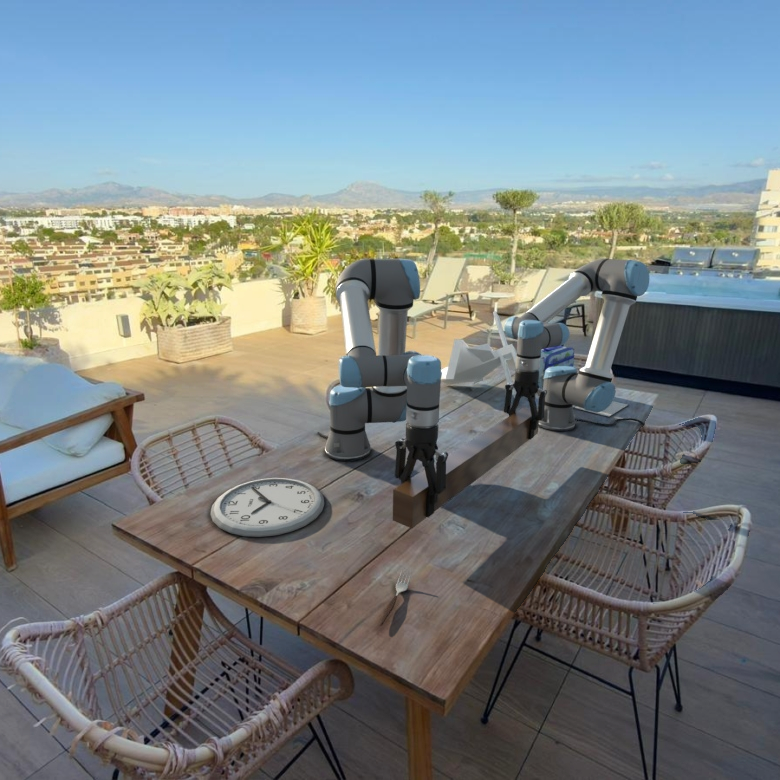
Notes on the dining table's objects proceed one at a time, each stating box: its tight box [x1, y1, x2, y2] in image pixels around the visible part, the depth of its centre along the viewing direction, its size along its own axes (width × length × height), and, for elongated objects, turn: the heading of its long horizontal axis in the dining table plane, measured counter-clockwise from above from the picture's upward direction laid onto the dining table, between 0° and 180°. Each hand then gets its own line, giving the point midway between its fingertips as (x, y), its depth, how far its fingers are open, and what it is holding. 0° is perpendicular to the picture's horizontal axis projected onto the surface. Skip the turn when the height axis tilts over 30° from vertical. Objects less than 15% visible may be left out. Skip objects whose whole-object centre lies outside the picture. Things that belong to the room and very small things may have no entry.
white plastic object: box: [441, 310, 517, 398], centre depth 245 cm, size 37×45×31 cm
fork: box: [379, 570, 413, 627], centre depth 106 cm, size 3×16×2 cm, turn 160°
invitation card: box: [573, 400, 629, 418], centre depth 226 cm, size 21×1×15 cm
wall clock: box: [210, 477, 325, 538], centre depth 142 cm, size 30×2×30 cm
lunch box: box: [538, 345, 575, 390], centre depth 245 cm, size 26×11×21 cm, turn 134°
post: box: [392, 406, 539, 529], centre depth 150 cm, size 75×6×8 cm, turn 143°
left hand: (418, 510), depth 128 cm, fingers closed on post, 6 cm apart
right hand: (521, 435), depth 175 cm, fingers closed on post, 6 cm apart
